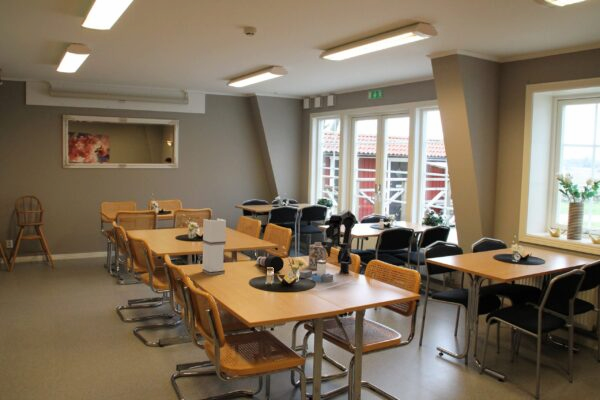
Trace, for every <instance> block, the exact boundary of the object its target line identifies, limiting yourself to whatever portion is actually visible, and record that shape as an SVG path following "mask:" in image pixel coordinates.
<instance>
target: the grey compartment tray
mask: <svg viewBox="0 0 600 400" xmlns="http://www.w3.org/2000/svg"><path fill="white" fill-rule="evenodd" d="M299 278H302V279H306V280H310V281H313V282H318V283H326V284H327V283H330V282H332V281H334V274H331V273H326V274H324V275H321V277H320V276H317V272H314V273H313V270H310V269H306V270H303V271H300V272H299Z"/></svg>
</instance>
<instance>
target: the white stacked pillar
mask: <svg viewBox="0 0 600 400" xmlns="http://www.w3.org/2000/svg"><path fill="white" fill-rule="evenodd" d="M202 224H203V226H202V227H203V228H202V232H203V233H202V273H205V274H206V275H209V276H213V275H214V276H215V275H225V272H226V270H224V254H225V253H224V248H225V247H226V237H227V235H226V234H227V233H226V229H227V228H226V227H227V226H226V225H227V220H226V219H221V218H216V220H213V219H206V218H203V221H202Z"/></svg>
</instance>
